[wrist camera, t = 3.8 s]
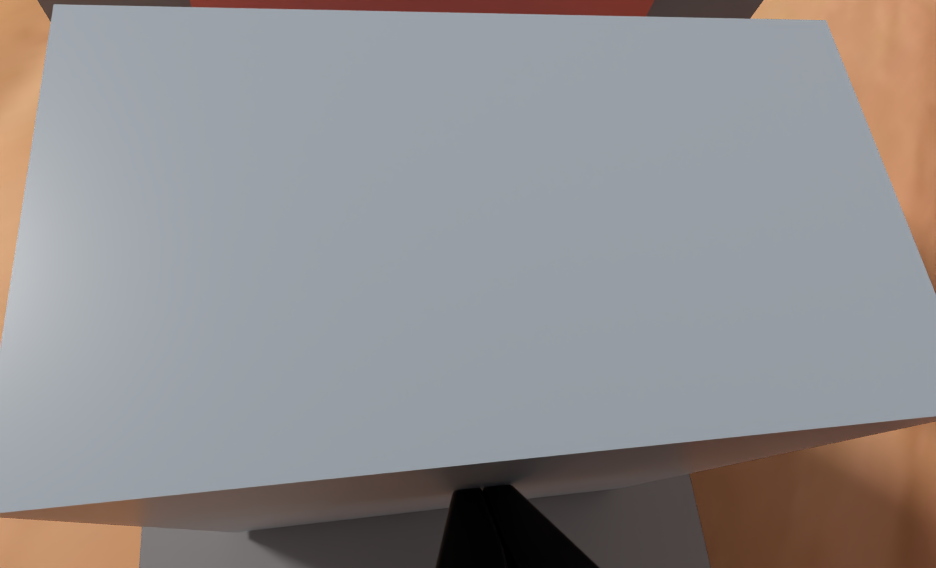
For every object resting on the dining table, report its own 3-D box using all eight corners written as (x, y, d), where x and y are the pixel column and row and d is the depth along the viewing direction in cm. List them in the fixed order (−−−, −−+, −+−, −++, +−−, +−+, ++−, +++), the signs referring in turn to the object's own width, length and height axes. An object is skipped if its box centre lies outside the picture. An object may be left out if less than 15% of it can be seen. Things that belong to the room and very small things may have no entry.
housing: (700, 608, 16) (1433, 757, 5) (146, 693, 14) (-754, 1308, 3) (589, 102, 21) (820, -360, 10) (180, 103, 19) (-73, -482, 8)
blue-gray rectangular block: (620, 488, 16) (984, 411, 6) (234, 532, 14) (-26, 516, 5) (584, 296, 17) (826, 20, 8) (237, 316, 16) (53, 4, 7)
